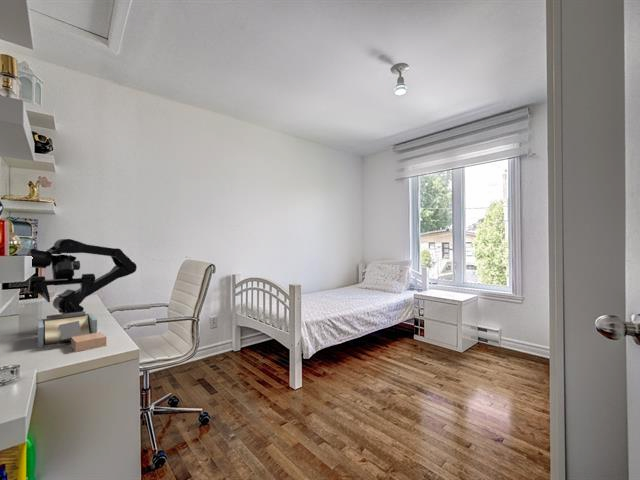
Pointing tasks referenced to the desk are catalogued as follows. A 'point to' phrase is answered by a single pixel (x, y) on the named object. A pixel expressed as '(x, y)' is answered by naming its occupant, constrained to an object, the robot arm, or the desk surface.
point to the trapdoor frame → (41, 326)
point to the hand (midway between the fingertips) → (66, 299)
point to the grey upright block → (69, 330)
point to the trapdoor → (59, 319)
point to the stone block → (88, 341)
